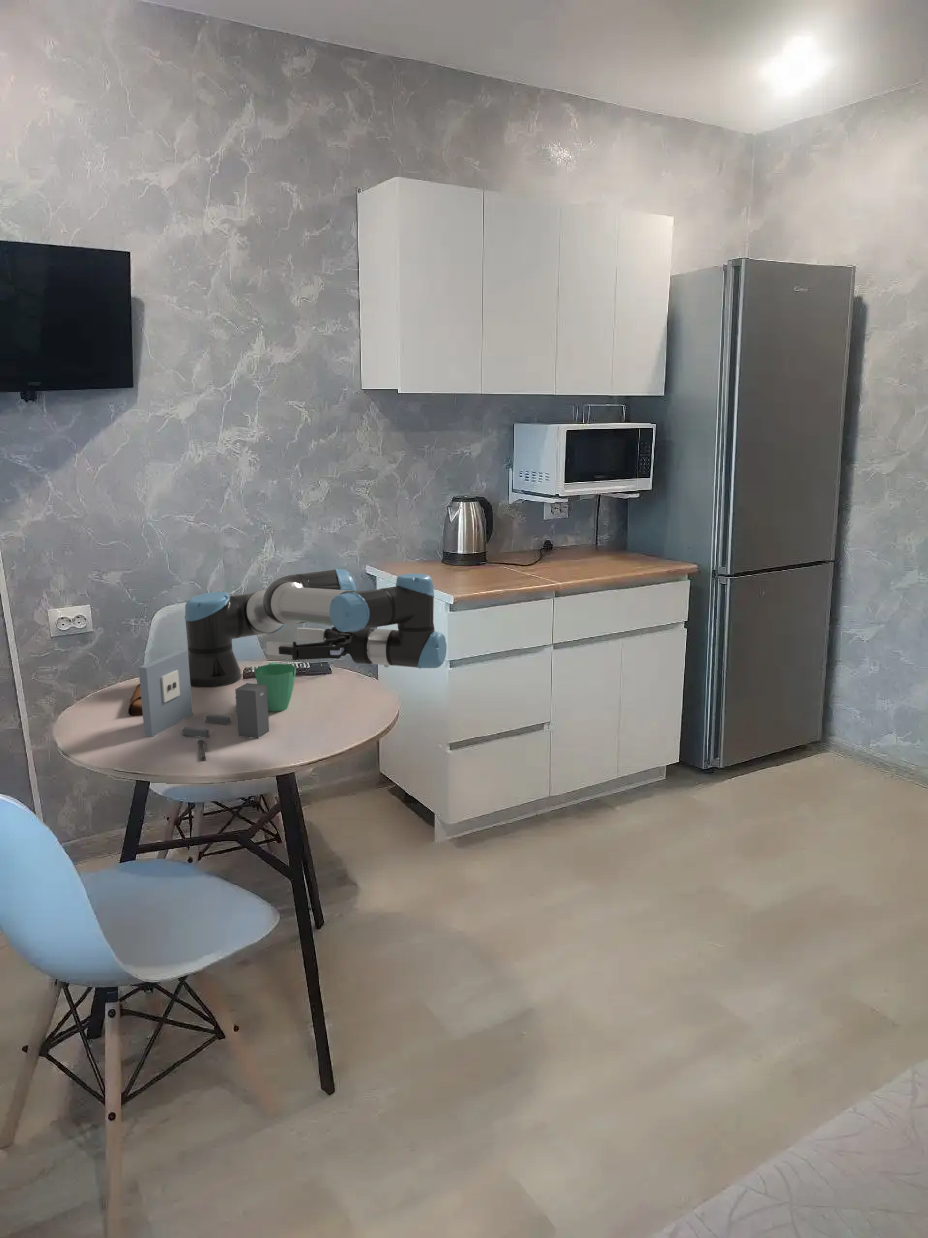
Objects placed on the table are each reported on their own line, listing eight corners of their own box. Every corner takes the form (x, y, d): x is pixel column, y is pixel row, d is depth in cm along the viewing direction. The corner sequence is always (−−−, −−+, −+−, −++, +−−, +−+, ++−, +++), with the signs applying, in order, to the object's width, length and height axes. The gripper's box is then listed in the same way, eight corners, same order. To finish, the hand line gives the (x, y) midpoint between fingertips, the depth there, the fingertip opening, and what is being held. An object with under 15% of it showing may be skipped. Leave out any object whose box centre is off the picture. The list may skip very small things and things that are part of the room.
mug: (300, 712, 219) (298, 672, 217) (258, 716, 217) (256, 676, 214) (292, 695, 233) (291, 657, 231) (253, 698, 230) (251, 660, 228)
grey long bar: (198, 741, 200) (197, 737, 200) (203, 740, 200) (203, 736, 200) (200, 760, 189) (200, 756, 188) (206, 760, 189) (206, 755, 189)
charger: (245, 728, 208) (242, 682, 206) (269, 731, 206) (267, 684, 204) (234, 736, 203) (231, 688, 201) (258, 738, 202) (255, 691, 199)
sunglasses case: (165, 713, 219) (149, 691, 217) (140, 729, 218) (123, 708, 216) (169, 692, 236) (153, 672, 234) (146, 707, 235) (130, 687, 233)
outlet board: (185, 714, 219) (180, 649, 215) (236, 719, 215) (232, 653, 211) (144, 736, 204) (138, 667, 200) (199, 741, 200) (193, 671, 196)
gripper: (349, 679, 180) (254, 672, 186) (395, 649, 204) (309, 644, 210) (348, 642, 179) (252, 636, 185) (394, 617, 202) (307, 612, 208)
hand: (282, 640), depth 197 cm, fingers open, 13 cm apart
